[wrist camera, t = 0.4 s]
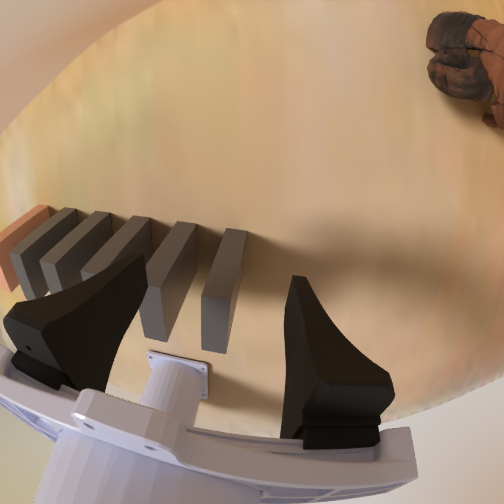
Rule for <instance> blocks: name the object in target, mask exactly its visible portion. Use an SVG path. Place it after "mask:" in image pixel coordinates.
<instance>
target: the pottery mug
mask: <svg viewBox="0 0 504 504" xmlns="http://www.w3.org/2000/svg"><path fill="white" fill-rule="evenodd" d="M426 46H427V47H428V48H431V49H435V50H438V52H437V53H436V54H435V56H434V58H432V59H431V60H430V61H429V64H428V67H427V70H428V73H429V78H430V80H431V81H432V83H433V84H434V85H435V86H436V87H437V88H438V89H439V90H440V91H442V92H444V93H446V94H448V95H450V96H452V97H456V98H460V99H471V100H473V101H480V102H487V101H489V100H490V99H491V97H492V93H493V94H494V95H495V98H496V100H497V102H493V103H491V105H490V106H491V110H492V112H493V114H490V113H487V114H486V115H485V116H484V117H483V119H482V121H483V122H485V123H486V124H487V125H491V126H493V127H498V128H501V129H503V128H504V24H501V23H499V22H497V21H496V20H487V19H485V17H481V16H479V15H472V14H470V13H468V12H463V11H460V12H443V13H441V14H439V15H438V16H437V17H435V18H434V19H433V21H432V23H431V24H430V26H429V29H428V34H427V39H426ZM468 49H470V50H479V51H480V53H479V54H478V59H477V58H475V57H470V56H469V54H468V52H467V50H468Z"/></svg>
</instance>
